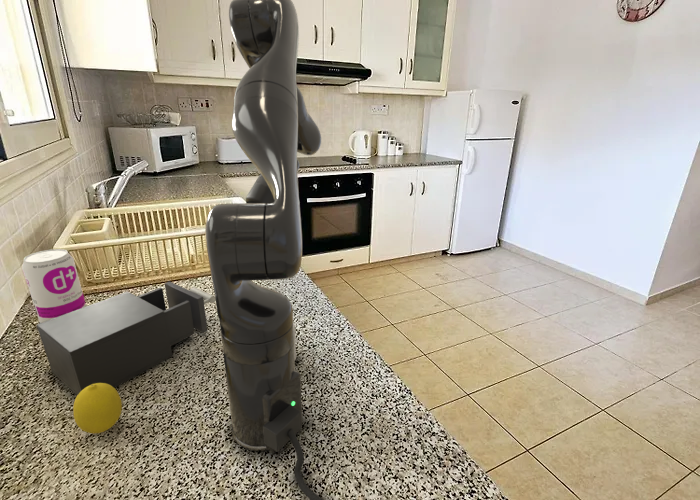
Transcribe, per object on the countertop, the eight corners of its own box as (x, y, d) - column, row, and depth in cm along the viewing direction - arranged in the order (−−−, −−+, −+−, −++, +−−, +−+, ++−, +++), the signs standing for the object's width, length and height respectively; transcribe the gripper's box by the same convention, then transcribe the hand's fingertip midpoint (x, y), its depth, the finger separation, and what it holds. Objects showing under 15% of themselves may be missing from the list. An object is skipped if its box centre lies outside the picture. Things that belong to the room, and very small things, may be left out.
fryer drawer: (192, 305, 85) (187, 274, 82) (225, 321, 79) (221, 288, 76) (109, 343, 71) (100, 307, 68) (141, 365, 65) (133, 327, 62)
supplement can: (95, 317, 81) (79, 253, 75) (51, 335, 74) (29, 267, 69) (77, 306, 85) (60, 245, 79) (34, 323, 78) (12, 257, 73)
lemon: (105, 449, 50) (92, 403, 47) (71, 442, 51) (55, 396, 48) (135, 418, 55) (124, 375, 53) (103, 412, 56) (91, 369, 54)
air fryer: (136, 333, 76) (127, 291, 72) (172, 356, 69) (164, 310, 66) (51, 372, 64) (36, 324, 61) (85, 403, 58) (69, 352, 54)
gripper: (240, 178, 89) (202, 240, 84) (280, 185, 82) (241, 253, 77) (258, 196, 95) (223, 255, 90) (297, 204, 88) (262, 268, 83)
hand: (232, 254), depth 84 cm, fingers closed
